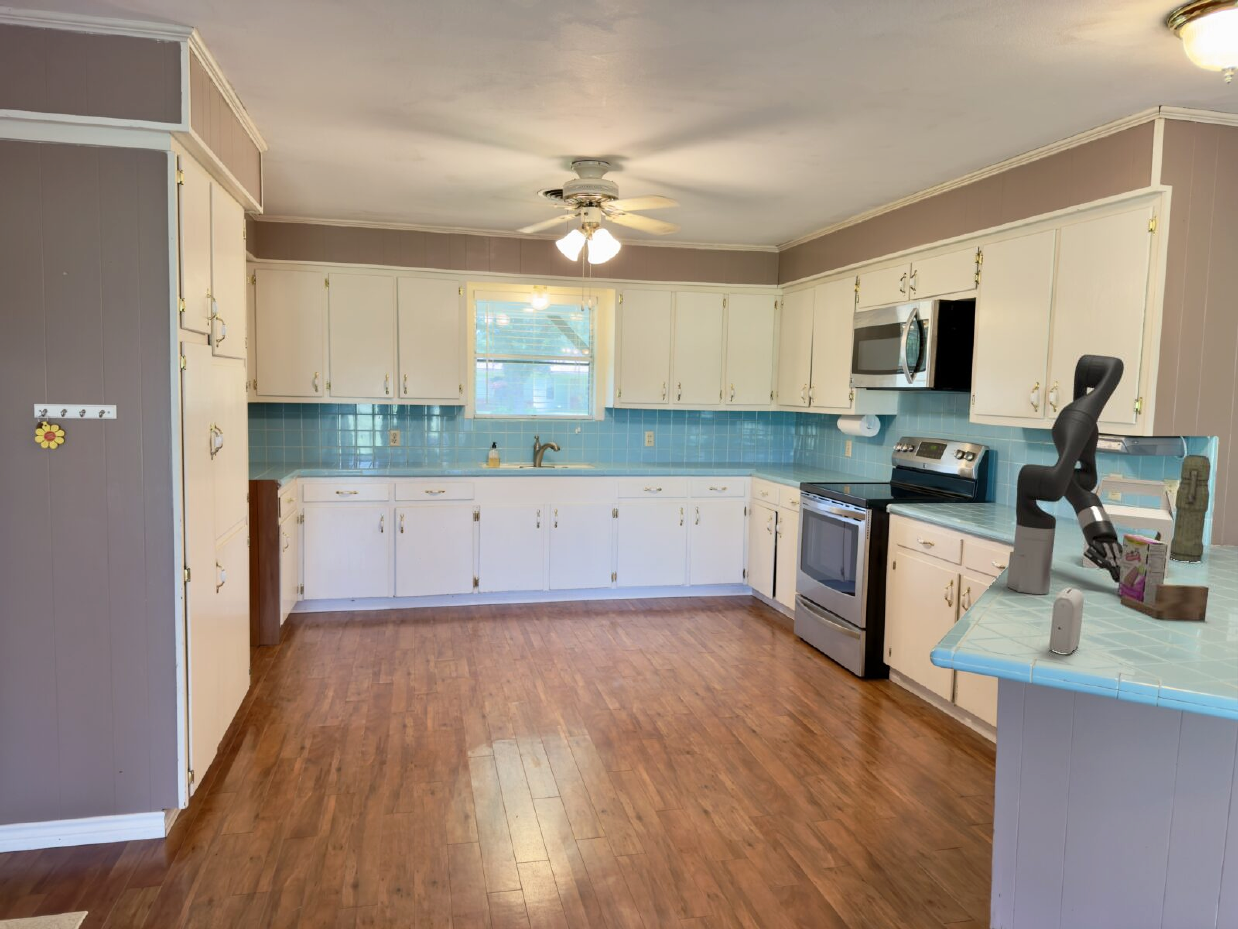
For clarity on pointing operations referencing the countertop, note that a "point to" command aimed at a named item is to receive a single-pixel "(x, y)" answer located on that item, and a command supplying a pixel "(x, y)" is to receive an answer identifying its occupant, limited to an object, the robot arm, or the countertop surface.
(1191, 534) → the moai statue
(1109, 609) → the countertop surface
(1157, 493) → the gable box
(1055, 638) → the photo printer
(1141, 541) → the candy bar box
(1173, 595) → the walnut rack
